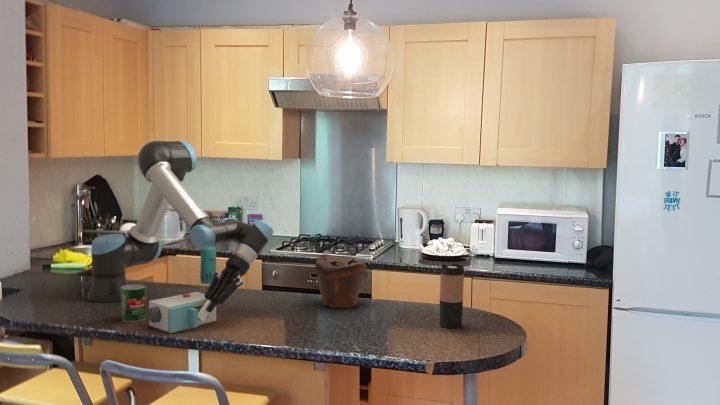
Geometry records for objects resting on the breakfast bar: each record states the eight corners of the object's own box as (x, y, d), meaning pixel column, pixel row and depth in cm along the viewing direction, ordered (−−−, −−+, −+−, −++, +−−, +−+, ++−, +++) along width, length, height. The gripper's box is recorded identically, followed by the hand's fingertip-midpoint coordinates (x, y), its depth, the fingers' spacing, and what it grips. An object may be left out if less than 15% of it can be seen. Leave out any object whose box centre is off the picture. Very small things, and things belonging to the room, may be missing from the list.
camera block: (145, 326, 207) (144, 300, 206) (196, 314, 222) (196, 290, 221) (164, 333, 199) (164, 306, 199) (216, 320, 214) (216, 295, 213)
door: (167, 332, 200) (167, 308, 199) (189, 326, 206) (189, 303, 205) (176, 335, 197) (175, 311, 196) (198, 329, 203) (198, 306, 202)
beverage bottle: (197, 286, 263) (196, 238, 261) (206, 283, 269) (206, 236, 268) (210, 288, 261) (210, 239, 259) (219, 285, 267) (219, 237, 265)
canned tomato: (135, 323, 210) (134, 290, 209) (116, 320, 213) (115, 287, 212) (151, 317, 217) (150, 285, 216) (132, 314, 220) (131, 283, 219)
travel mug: (456, 330, 208) (458, 269, 206) (435, 326, 212) (436, 266, 210) (465, 324, 215) (467, 265, 213) (444, 321, 219) (446, 262, 217)
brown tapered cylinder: (369, 309, 231) (369, 260, 230) (313, 310, 230) (313, 260, 228) (365, 298, 249) (366, 252, 247) (313, 299, 247) (313, 252, 246)
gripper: (260, 269, 213) (219, 329, 202) (235, 264, 222) (194, 321, 211) (247, 256, 209) (204, 316, 198) (222, 251, 217) (180, 308, 206)
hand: (199, 319), depth 204 cm, fingers closed
